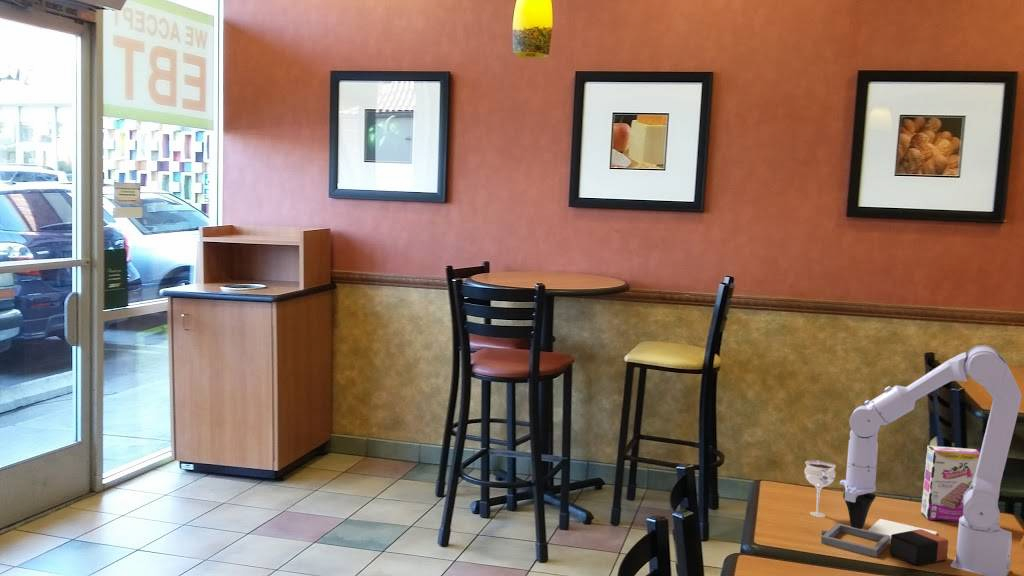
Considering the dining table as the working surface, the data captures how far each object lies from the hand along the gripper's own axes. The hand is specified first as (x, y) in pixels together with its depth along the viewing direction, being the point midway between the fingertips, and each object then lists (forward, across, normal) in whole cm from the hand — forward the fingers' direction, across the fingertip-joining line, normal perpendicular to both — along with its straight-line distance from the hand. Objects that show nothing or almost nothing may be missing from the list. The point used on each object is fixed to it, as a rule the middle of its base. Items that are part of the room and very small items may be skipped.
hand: (856, 527), depth 185 cm
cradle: (+3, 0, 0) cm, 3 cm away
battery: (+1, +4, +10) cm, 11 cm away
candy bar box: (+4, -32, +12) cm, 34 cm away
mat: (+3, -13, +6) cm, 15 cm away
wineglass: (+4, -12, -12) cm, 17 cm away
